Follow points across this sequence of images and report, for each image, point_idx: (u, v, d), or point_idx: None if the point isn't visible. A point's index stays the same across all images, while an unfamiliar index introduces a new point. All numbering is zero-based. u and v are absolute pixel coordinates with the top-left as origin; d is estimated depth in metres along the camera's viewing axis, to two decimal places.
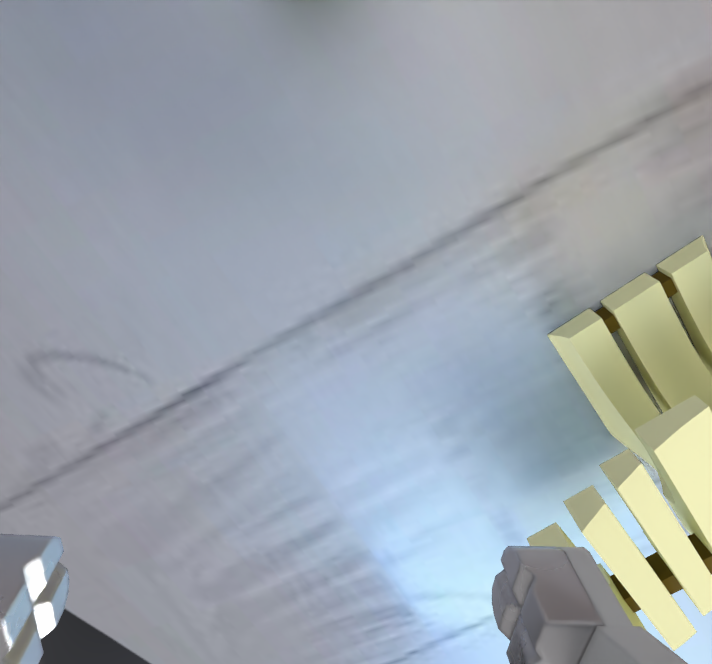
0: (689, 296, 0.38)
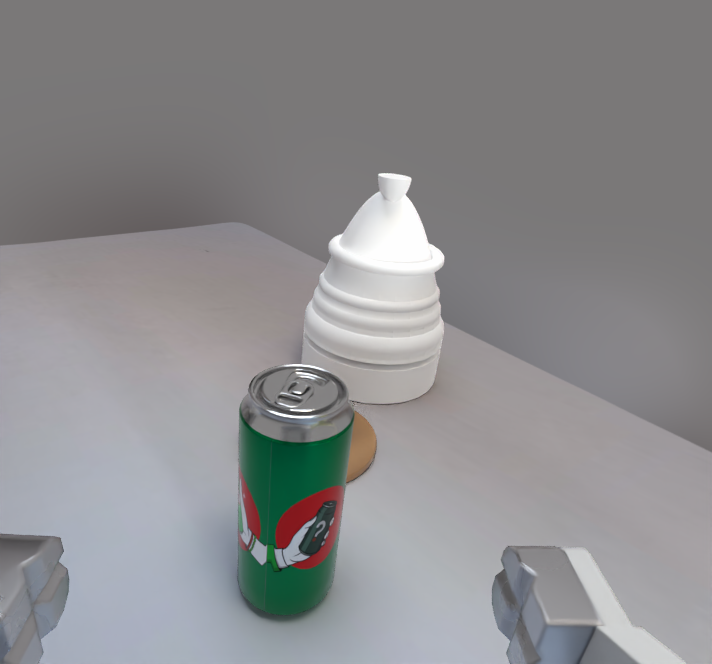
0: None
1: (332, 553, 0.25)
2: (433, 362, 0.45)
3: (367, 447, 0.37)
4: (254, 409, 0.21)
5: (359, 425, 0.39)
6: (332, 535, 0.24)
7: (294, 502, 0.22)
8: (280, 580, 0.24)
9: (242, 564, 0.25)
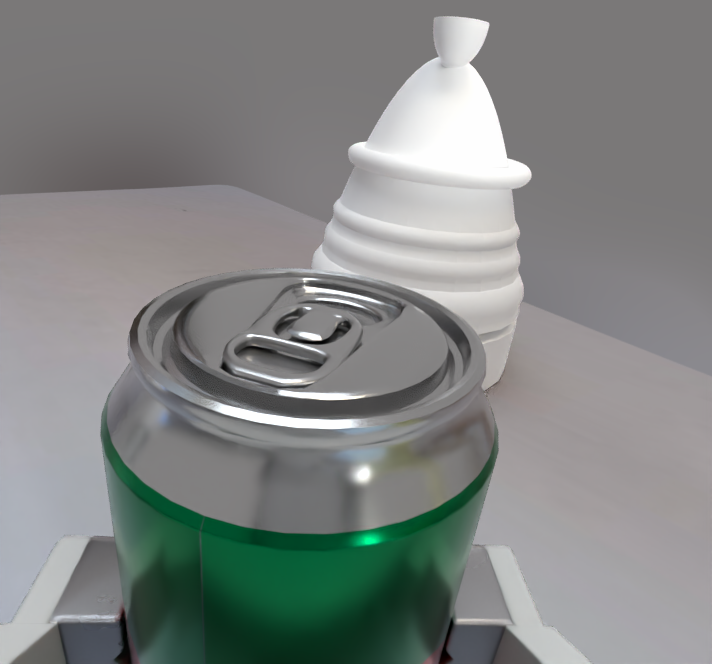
0: None
1: None
2: (509, 335, 0.29)
3: None
4: (140, 394, 0.05)
5: None
6: None
7: None
8: None
9: None
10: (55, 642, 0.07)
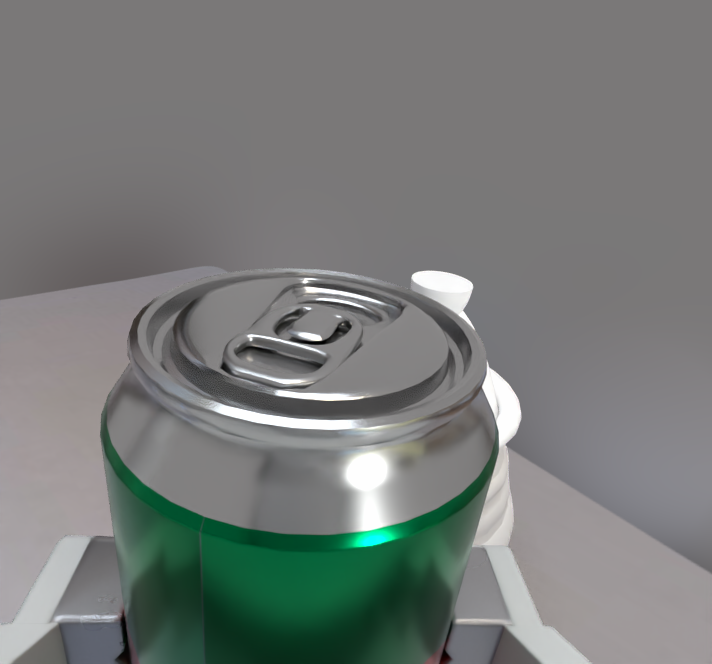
0: None
1: None
2: None
3: None
4: (140, 394, 0.05)
5: None
6: None
7: None
8: None
9: None
10: (56, 642, 0.07)
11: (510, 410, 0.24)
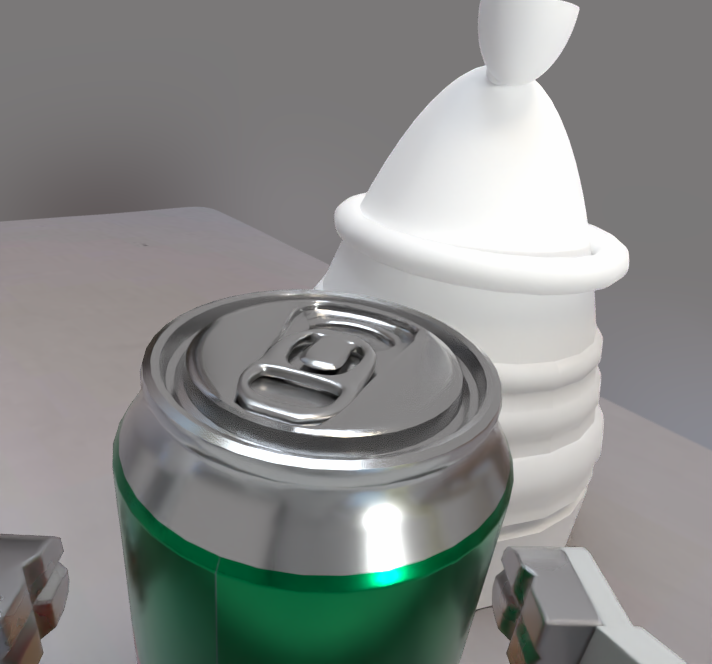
0: None
1: None
2: (584, 495, 0.19)
3: None
4: (154, 428, 0.05)
5: None
6: None
7: None
8: None
9: None
10: None
11: (614, 244, 0.16)
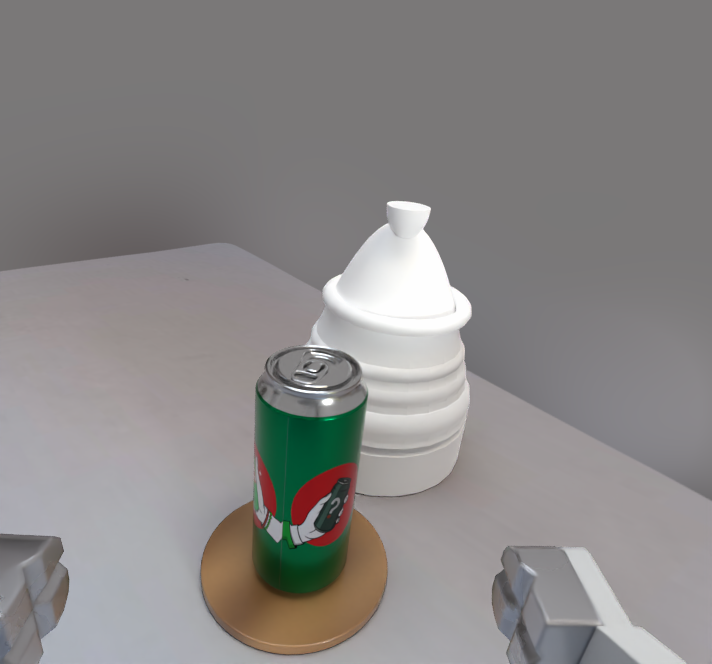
0: None
1: (346, 532, 0.25)
2: (457, 439, 0.35)
3: (375, 575, 0.27)
4: (270, 386, 0.22)
5: (364, 537, 0.30)
6: (346, 514, 0.24)
7: (309, 477, 0.22)
8: (295, 557, 0.24)
9: (257, 543, 0.25)
10: None
11: (462, 308, 0.33)
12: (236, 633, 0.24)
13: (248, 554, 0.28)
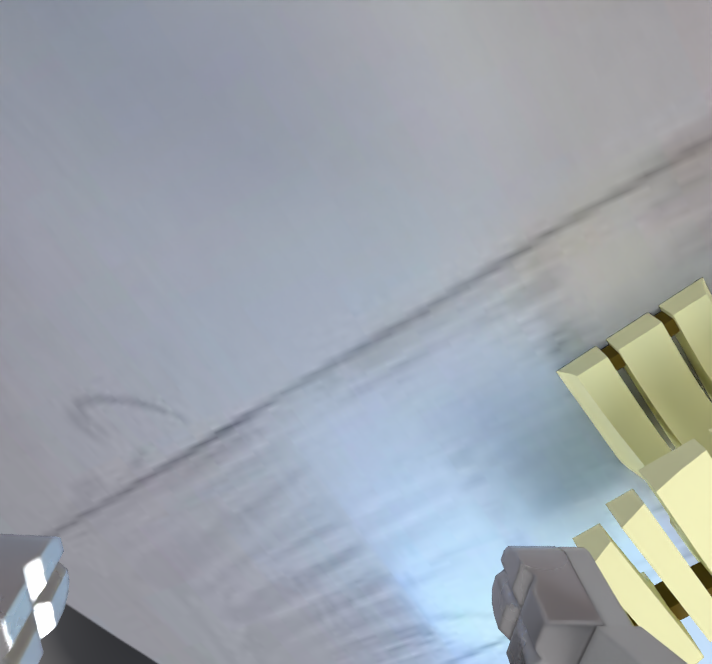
0: (691, 335, 0.40)
1: None
2: None
3: None
4: None
5: None
6: None
7: None
8: None
9: None
10: None
11: None
12: None
13: None
